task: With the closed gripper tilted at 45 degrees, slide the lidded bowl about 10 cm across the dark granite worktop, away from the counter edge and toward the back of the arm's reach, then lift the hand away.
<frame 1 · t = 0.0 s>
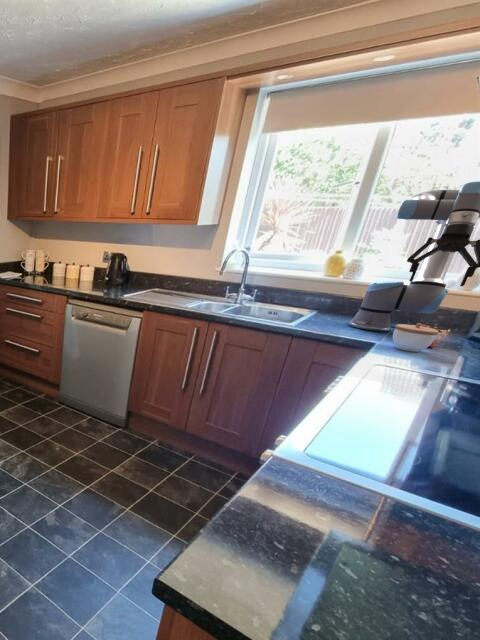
hand: (435, 283, 160), 28 cm above the countertop, tool tilted 20°, fingers open, 13 cm apart
lidded bowl: (407, 349, 176), on the countertop
butter dish: (414, 344, 185), on the countertop
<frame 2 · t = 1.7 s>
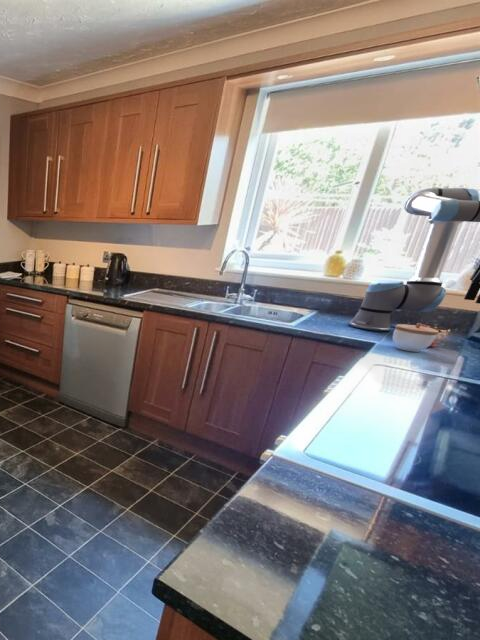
hand: (474, 301, 162), 21 cm above the countertop, tool pointing down, fingers open, 9 cm apart
nothing on the countertop moved.
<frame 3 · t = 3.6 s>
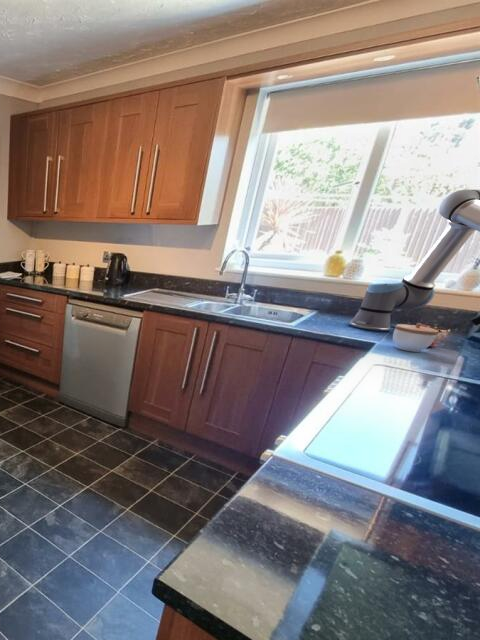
hand: (473, 322, 164), 14 cm above the countertop, tool tilted 45°, fingers closed
nothing on the countertop moved.
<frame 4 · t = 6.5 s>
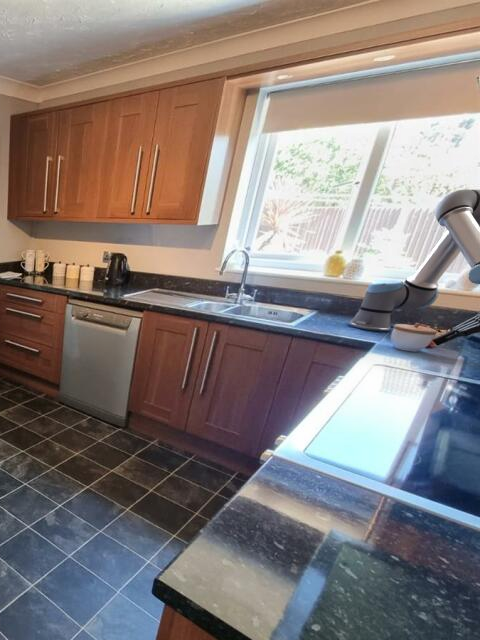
hand: (434, 342, 171), 4 cm above the countertop, tool tilted 45°, fingers closed
lidded bowl: (405, 349, 176), on the countertop, touching gripper
everything else where it was.
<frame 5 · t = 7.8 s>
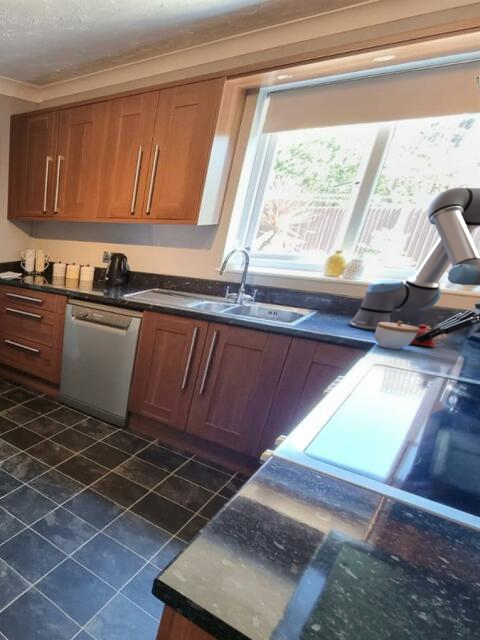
hand: (417, 340, 173), 4 cm above the countertop, tool tilted 45°, fingers closed
lidded bowl: (389, 347, 179), on the countertop, touching gripper
everything else where it was.
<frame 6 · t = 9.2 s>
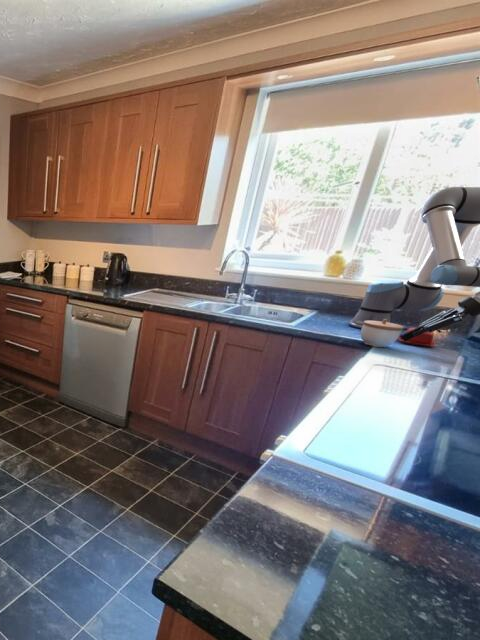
hand: (402, 338, 176), 4 cm above the countertop, tool tilted 45°, fingers closed
lidded bowl: (374, 345, 181), on the countertop, touching gripper
everything else where it was.
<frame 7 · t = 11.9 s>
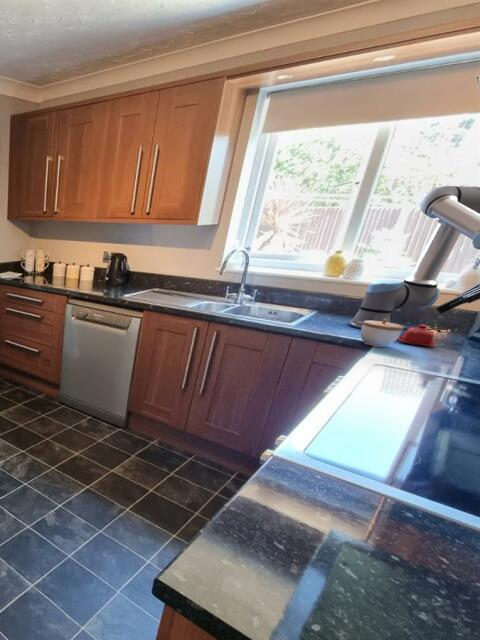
hand: (438, 310, 168), 17 cm above the countertop, tool tilted 45°, fingers closed
lidded bowl: (374, 345, 181), on the countertop
everything else where it was.
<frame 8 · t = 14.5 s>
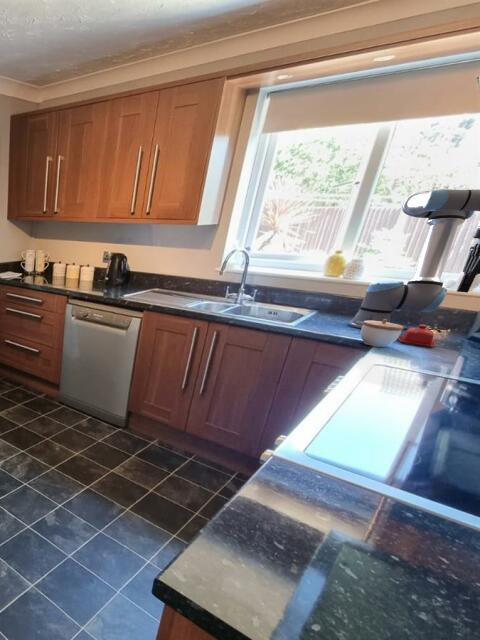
hand: (462, 291, 165), 24 cm above the countertop, tool pointing down, fingers closed
nothing on the countertop moved.
at the end: lidded bowl inside the target area (0.1 cm from its centre), on the countertop; lidded bowl moved 10.5 cm from its start; lidded bowl tilted 0° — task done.
